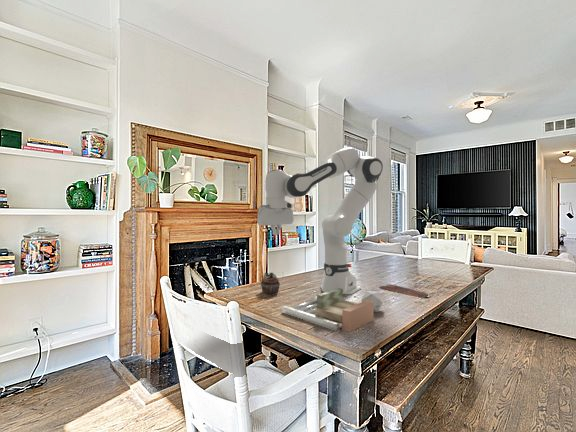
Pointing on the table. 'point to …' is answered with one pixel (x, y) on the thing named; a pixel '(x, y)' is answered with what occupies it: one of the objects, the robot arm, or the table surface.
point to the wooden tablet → (404, 290)
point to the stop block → (357, 315)
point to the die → (373, 299)
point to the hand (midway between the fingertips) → (276, 234)
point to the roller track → (311, 315)
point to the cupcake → (270, 284)
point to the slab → (332, 304)
